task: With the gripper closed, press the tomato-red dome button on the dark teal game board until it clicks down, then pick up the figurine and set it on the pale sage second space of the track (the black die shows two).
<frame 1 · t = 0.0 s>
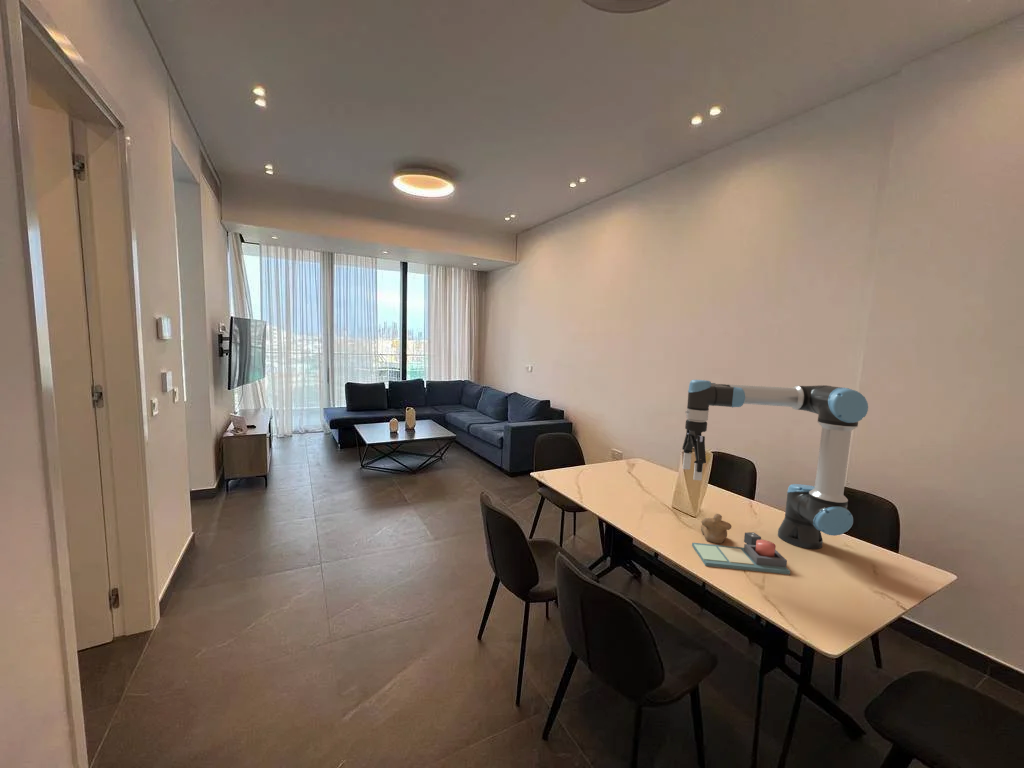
hand: (691, 474, 159), 28 cm above the table, fingers open, 13 cm apart
die: (751, 544, 164), on the table
dome button: (765, 548, 150), point 5 cm above the table, slide at 0.0 cm
figurine: (714, 540, 166), on the table
board: (737, 559, 151), on the table
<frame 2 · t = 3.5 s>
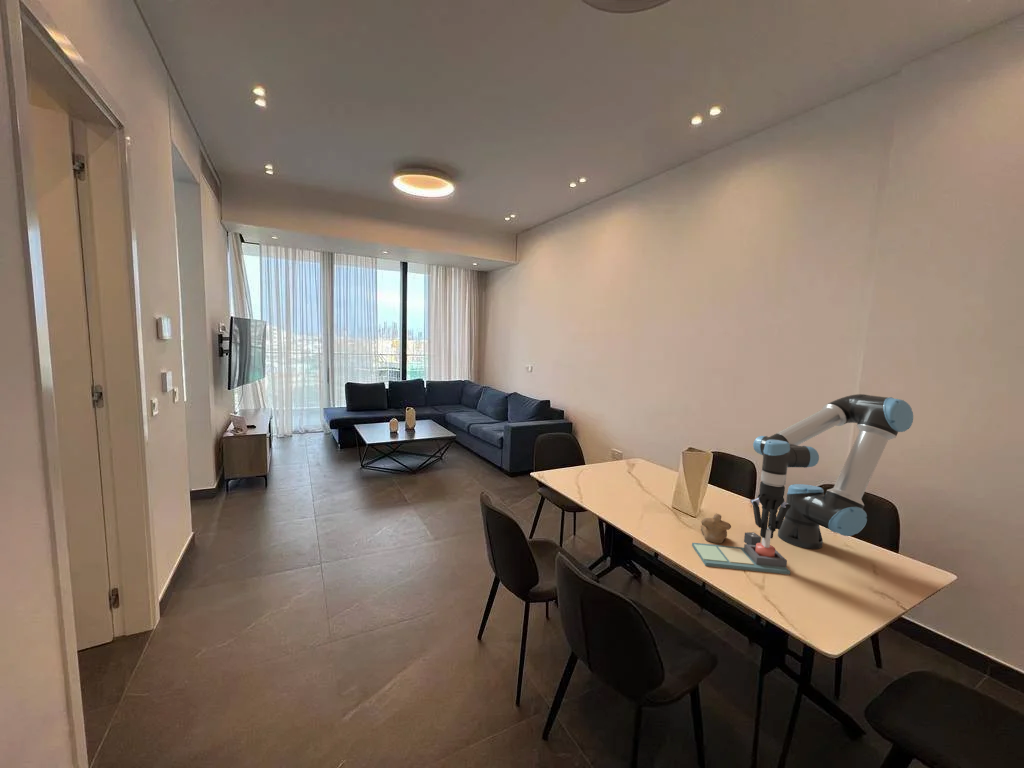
hand: (765, 546, 149), 6 cm above the table, fingers closed
dome button: (764, 551, 150), point 4 cm above the table, slide at 1.3 cm, touching gripper
everything else where it was.
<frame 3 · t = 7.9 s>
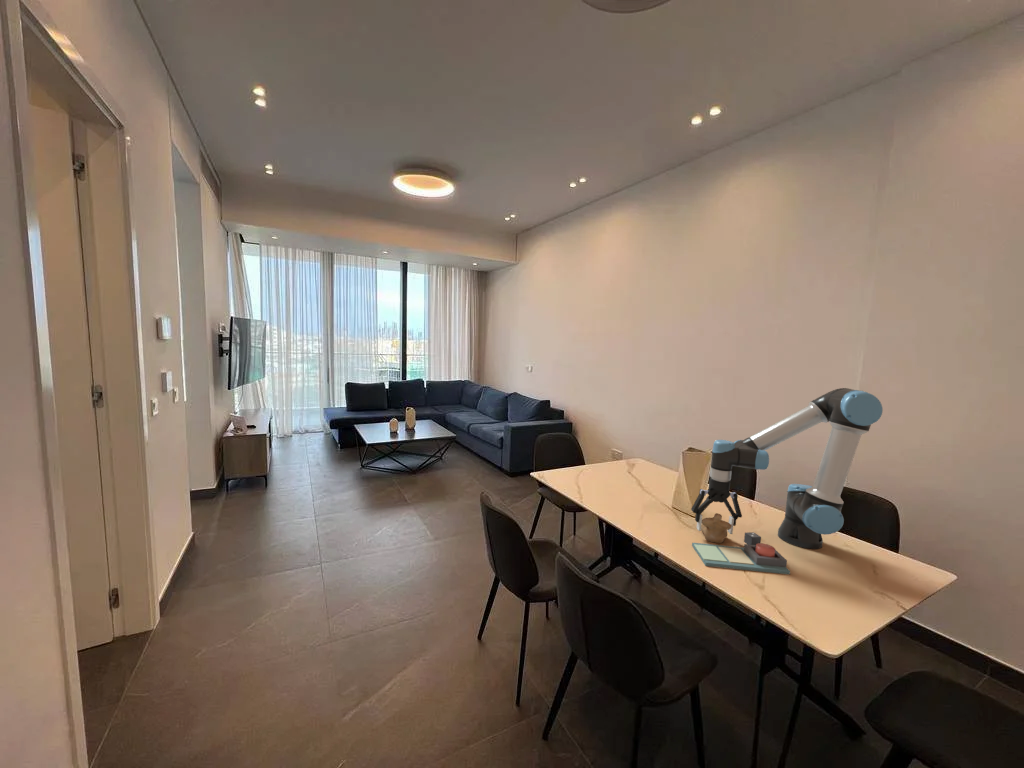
hand: (714, 531, 166), 3 cm above the table, fingers closed on figurine, 11 cm apart
dome button: (764, 552, 150), point 4 cm above the table, slide at 1.4 cm
figurine: (714, 539, 166), on the table, touching gripper
everything else where it was.
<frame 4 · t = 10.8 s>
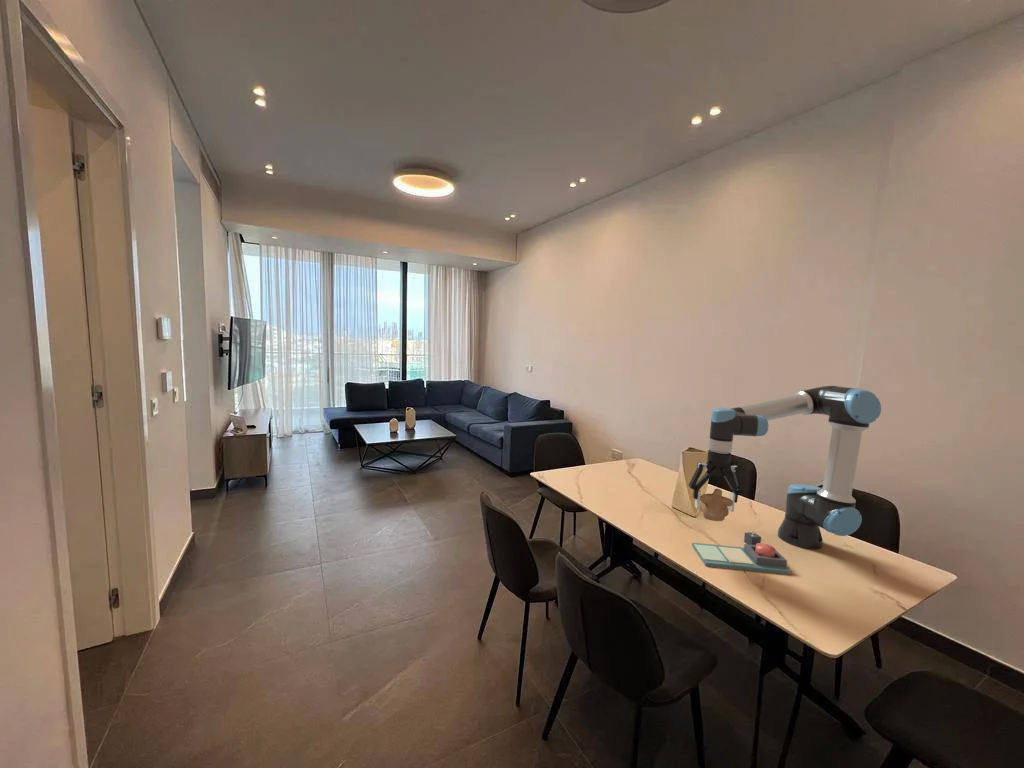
hand: (713, 509, 151), 18 cm above the table, fingers closed on figurine, 11 cm apart
figurine: (714, 518, 151), point 14 cm above the table, touching gripper
everything else where it was.
when the fingers open (5 cm above the table, at t = 13.3 s): figurine stays where it is, resting on board.
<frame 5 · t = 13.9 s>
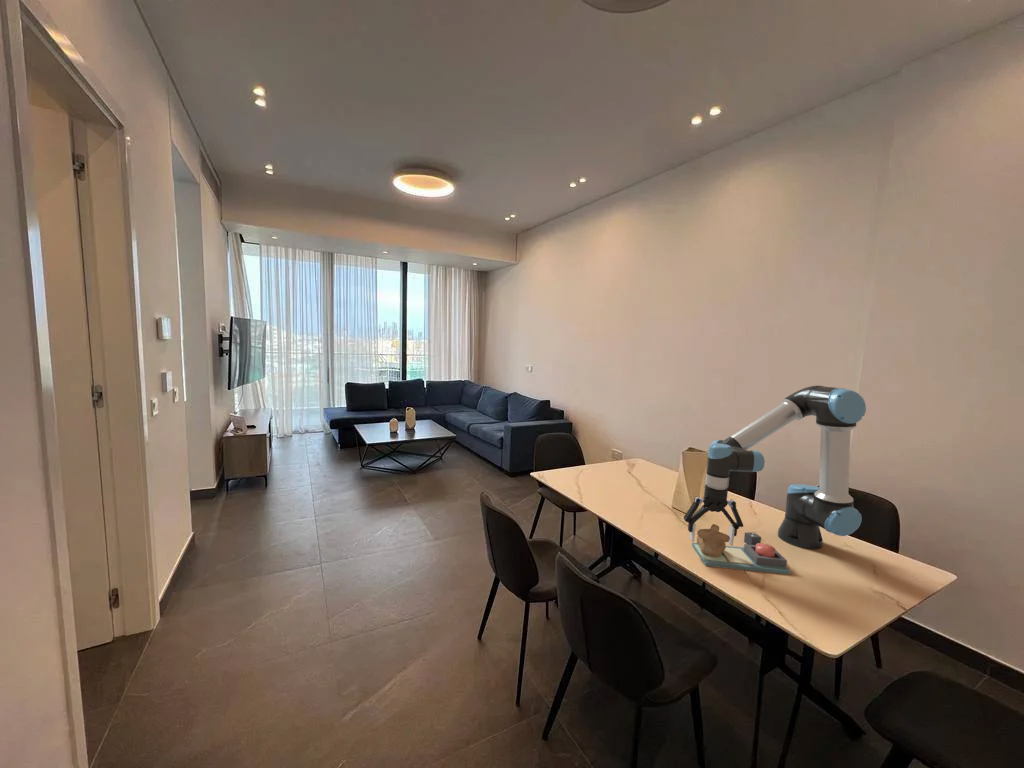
hand: (711, 542, 152), 6 cm above the table, fingers open, 13 cm apart
figurine: (711, 552, 152), point 1 cm above the table, touching board
everything else where it was.
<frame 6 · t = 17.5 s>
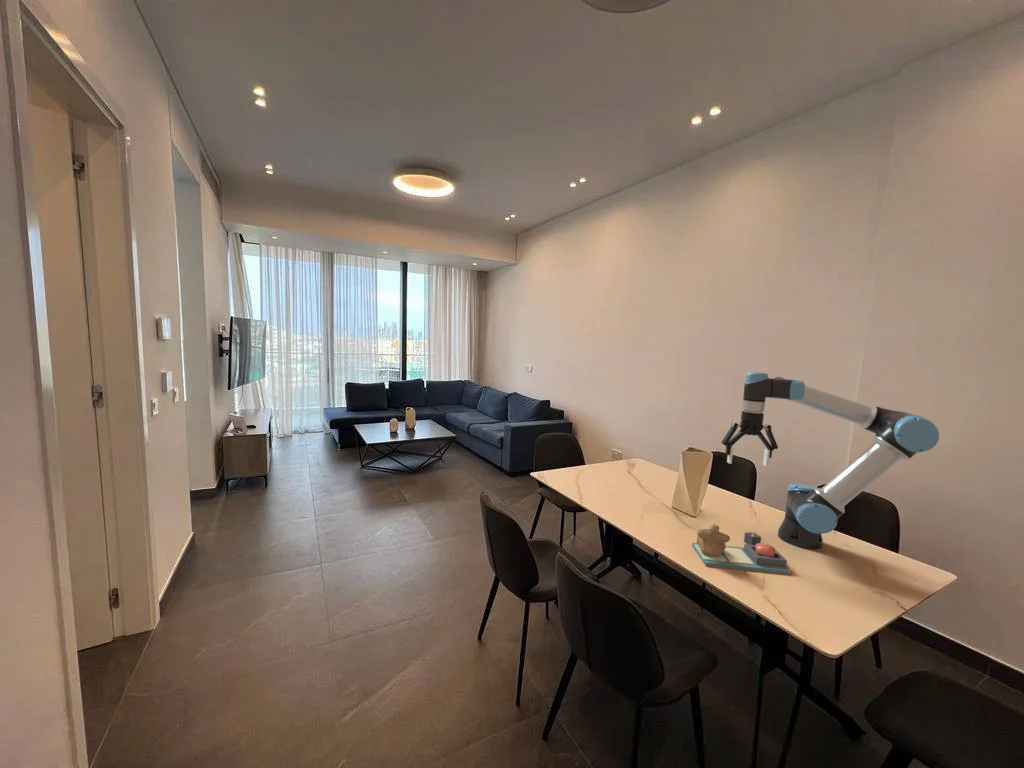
hand: (747, 464, 163), 32 cm above the table, fingers open, 13 cm apart
nothing on the table moved.
at the end: dome button slide at 1.4 cm; figurine inside the target area on the board (0.5 cm from its centre), point 1.3 cm above the board's base; figurine tilted 0° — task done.
